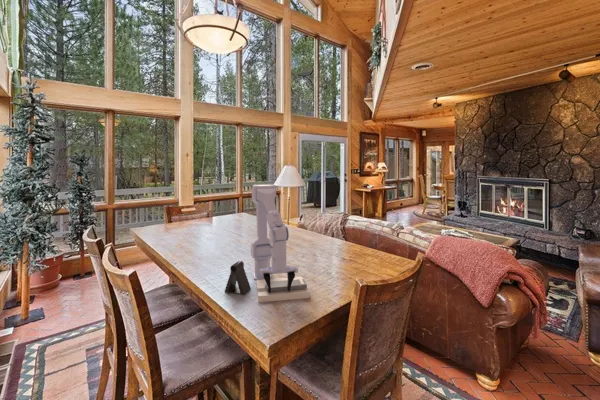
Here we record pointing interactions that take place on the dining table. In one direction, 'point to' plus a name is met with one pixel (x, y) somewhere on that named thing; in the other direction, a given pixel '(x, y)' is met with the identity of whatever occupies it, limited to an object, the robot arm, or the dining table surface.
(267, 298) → the duct deck
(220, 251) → the dining table surface
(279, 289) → the cover
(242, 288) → the black folding stand
